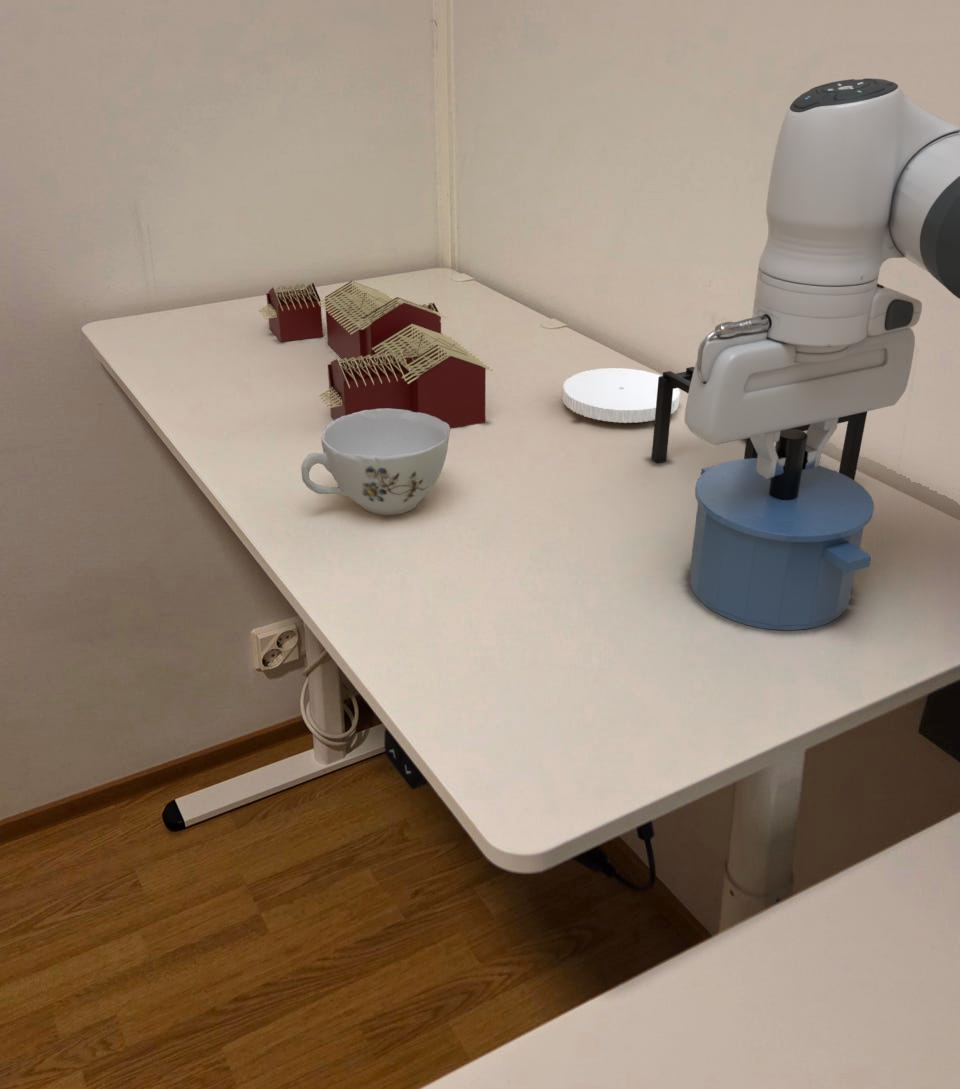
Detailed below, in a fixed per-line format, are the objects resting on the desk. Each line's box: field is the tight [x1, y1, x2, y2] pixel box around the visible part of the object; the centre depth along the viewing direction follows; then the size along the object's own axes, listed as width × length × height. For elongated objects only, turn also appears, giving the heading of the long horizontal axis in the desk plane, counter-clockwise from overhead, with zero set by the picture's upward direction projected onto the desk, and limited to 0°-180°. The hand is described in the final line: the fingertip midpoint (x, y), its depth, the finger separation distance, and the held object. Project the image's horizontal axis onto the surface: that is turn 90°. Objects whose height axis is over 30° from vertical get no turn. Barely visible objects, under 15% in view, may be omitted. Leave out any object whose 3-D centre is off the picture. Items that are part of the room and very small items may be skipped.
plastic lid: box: [561, 367, 681, 424], centre depth 133 cm, size 14×14×2 cm
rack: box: [650, 366, 868, 481], centre depth 115 cm, size 14×16×10 cm
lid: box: [694, 429, 875, 542], centre depth 92 cm, size 15×15×7 cm
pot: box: [689, 465, 873, 631], centre depth 95 cm, size 14×19×8 cm
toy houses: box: [258, 280, 494, 429], centre depth 142 cm, size 45×21×10 cm, turn 24°
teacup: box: [301, 408, 452, 516], centre depth 109 cm, size 15×12×8 cm
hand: (787, 470), depth 92 cm, fingers closed on lid, 2 cm apart
